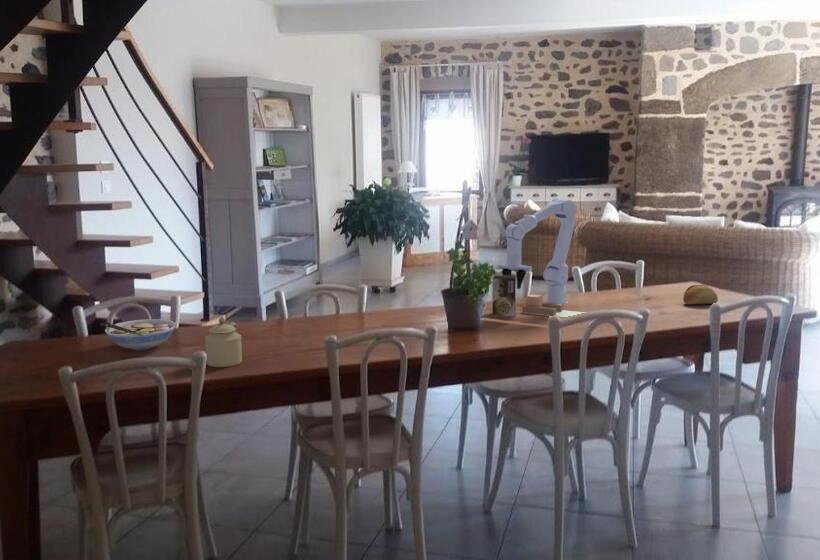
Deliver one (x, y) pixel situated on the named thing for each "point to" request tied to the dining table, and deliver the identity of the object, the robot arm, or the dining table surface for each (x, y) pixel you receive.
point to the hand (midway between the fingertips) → (513, 287)
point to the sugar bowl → (223, 345)
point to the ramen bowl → (140, 333)
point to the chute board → (548, 310)
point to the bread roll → (700, 295)
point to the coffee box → (504, 295)
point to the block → (534, 300)
